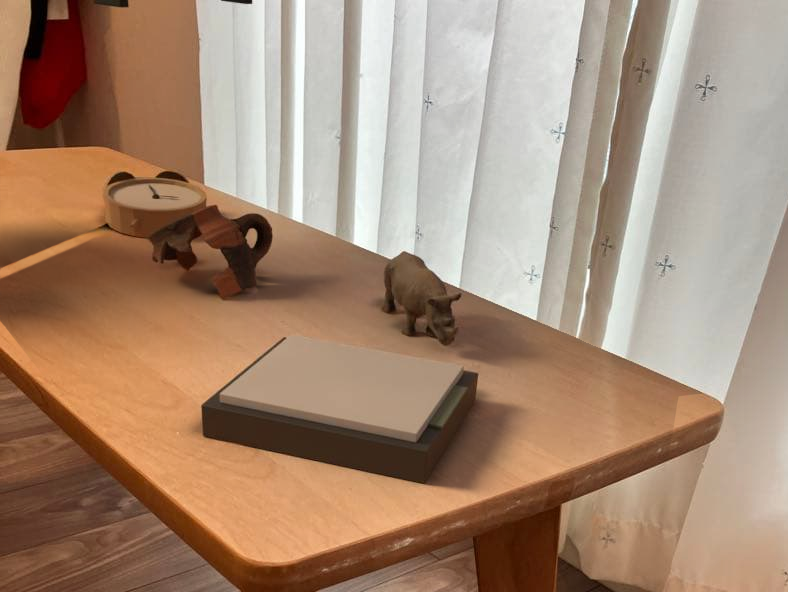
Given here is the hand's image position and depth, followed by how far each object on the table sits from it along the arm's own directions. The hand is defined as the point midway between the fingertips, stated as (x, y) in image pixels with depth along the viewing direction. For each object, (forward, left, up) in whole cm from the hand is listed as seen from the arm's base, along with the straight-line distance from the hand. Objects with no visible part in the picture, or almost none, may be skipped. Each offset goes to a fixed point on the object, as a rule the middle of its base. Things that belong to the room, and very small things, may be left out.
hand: (178, 4), depth 73 cm
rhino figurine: (+20, +4, -24) cm, 32 cm away
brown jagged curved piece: (-2, +8, -24) cm, 26 cm away
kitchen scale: (+20, -15, -24) cm, 35 cm away
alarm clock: (-18, +24, -24) cm, 38 cm away
